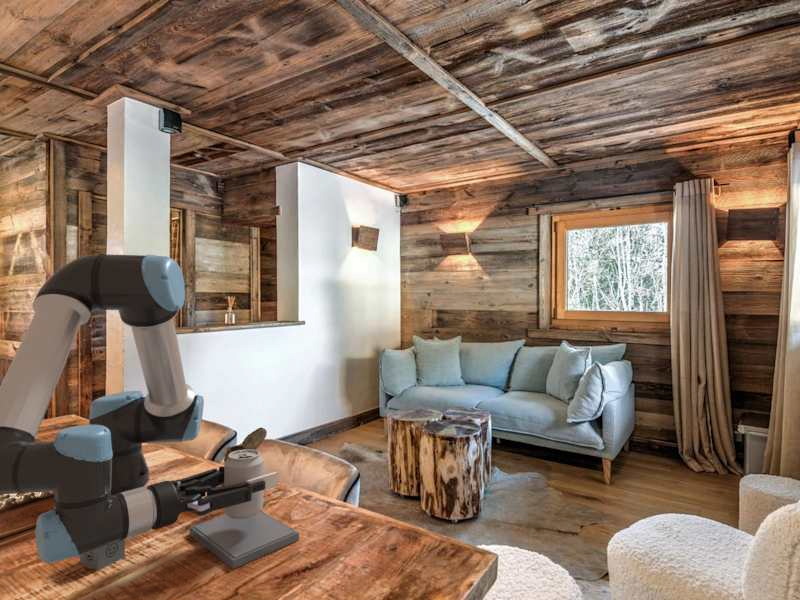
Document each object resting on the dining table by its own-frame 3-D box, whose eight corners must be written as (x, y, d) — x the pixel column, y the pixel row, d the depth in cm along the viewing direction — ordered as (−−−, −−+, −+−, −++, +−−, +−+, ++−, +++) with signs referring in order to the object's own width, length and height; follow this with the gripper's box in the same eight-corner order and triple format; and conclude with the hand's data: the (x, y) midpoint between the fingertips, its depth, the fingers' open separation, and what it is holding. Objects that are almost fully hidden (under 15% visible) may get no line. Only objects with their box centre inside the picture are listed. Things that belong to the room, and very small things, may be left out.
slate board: (189, 534, 96) (189, 526, 96) (251, 511, 107) (251, 504, 107) (233, 569, 84) (233, 559, 84) (298, 540, 95) (299, 531, 95)
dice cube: (107, 551, 90) (107, 525, 90) (124, 557, 88) (125, 530, 88) (80, 564, 85) (80, 536, 85) (98, 571, 83) (98, 543, 83)
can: (226, 524, 90) (227, 461, 90) (221, 508, 97) (222, 450, 97) (266, 516, 94) (267, 455, 94) (259, 502, 100) (259, 445, 100)
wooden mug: (242, 510, 107) (243, 431, 107) (212, 494, 116) (212, 421, 116) (275, 498, 114) (276, 423, 114) (244, 483, 123) (245, 414, 123)
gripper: (128, 511, 89) (240, 479, 106) (172, 551, 75) (293, 506, 92) (128, 472, 89) (241, 445, 106) (173, 503, 75) (294, 467, 92)
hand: (265, 473), depth 99 cm, fingers closed on can, 7 cm apart
